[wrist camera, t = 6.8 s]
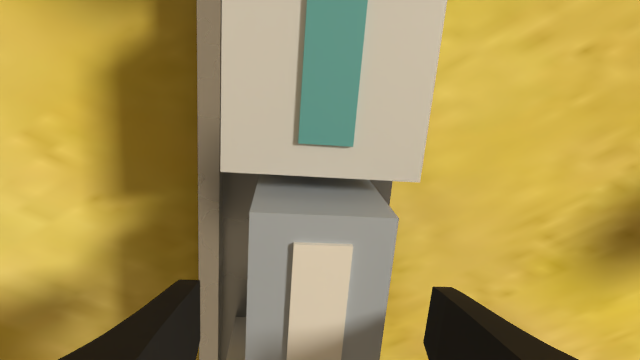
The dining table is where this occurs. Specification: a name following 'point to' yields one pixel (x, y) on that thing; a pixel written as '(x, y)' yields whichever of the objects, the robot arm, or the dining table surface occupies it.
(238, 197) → the rail
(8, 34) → the dining table surface
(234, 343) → the module
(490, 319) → the robot arm
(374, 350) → the block
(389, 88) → the block
